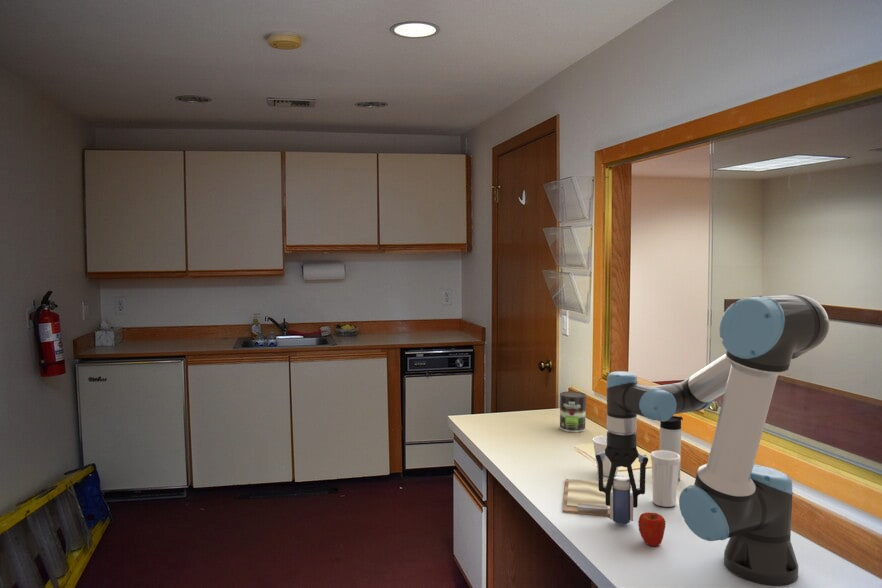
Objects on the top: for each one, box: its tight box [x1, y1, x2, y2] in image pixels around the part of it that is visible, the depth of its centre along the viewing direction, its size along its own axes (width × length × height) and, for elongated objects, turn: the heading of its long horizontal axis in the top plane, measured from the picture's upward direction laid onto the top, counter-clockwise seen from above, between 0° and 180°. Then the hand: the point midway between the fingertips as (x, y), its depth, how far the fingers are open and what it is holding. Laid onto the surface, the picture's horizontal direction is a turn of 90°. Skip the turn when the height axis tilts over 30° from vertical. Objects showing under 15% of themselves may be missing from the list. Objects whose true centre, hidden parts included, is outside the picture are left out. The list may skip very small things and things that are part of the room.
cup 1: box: [591, 435, 619, 477], centre depth 203 cm, size 10×10×11 cm
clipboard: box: [562, 478, 613, 517], centre depth 184 cm, size 24×16×2 cm, turn 167°
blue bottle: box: [612, 476, 632, 525], centre depth 166 cm, size 5×5×11 cm
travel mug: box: [659, 415, 684, 482], centre depth 198 cm, size 6×7×20 cm
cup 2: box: [650, 449, 680, 508], centre depth 179 cm, size 8×8×14 cm
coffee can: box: [559, 390, 587, 433], centre depth 252 cm, size 10×10×14 cm
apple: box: [637, 511, 667, 547], centre depth 156 cm, size 6×6×8 cm
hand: (621, 517), depth 167 cm, fingers closed on blue bottle, 4 cm apart
